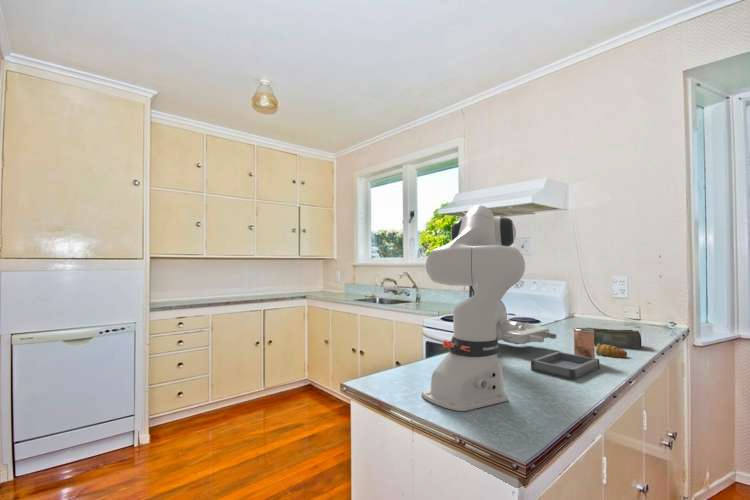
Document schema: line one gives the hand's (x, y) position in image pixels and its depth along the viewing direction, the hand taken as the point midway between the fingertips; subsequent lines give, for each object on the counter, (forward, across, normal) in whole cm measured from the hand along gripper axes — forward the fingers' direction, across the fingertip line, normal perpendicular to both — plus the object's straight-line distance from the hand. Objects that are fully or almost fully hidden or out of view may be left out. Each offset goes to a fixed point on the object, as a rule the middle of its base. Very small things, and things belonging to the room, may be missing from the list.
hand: (549, 338), depth 133 cm
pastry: (+14, +17, +6) cm, 23 cm away
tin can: (+12, 0, +6) cm, 13 cm away
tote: (+12, -14, +6) cm, 19 cm away
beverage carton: (+8, +35, +6) cm, 37 cm away
